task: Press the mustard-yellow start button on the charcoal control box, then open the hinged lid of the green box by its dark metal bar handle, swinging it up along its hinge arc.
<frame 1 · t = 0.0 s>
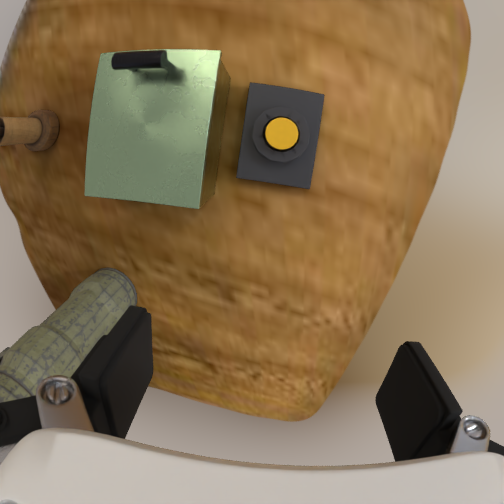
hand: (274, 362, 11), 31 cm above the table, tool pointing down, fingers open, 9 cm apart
control box: (279, 135, 37), on the table
button: (281, 133, 33), point 4 cm above the table, slide at 0.1 cm
mortar and pestle: (45, 130, 38), on the table
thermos: (113, 292, 46), on the table
green box: (171, 131, 37), on the table
lid: (136, 122, 26), point 12 cm above the table, hinge at 0.0°
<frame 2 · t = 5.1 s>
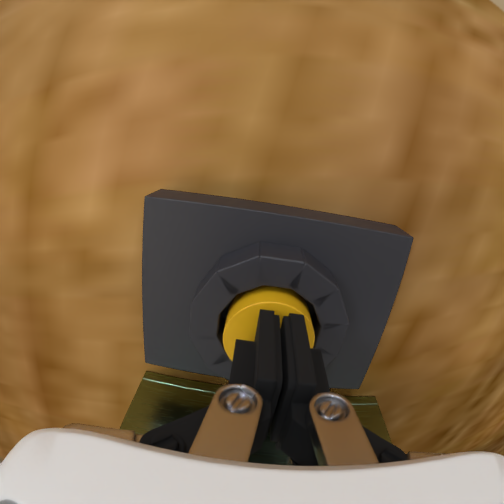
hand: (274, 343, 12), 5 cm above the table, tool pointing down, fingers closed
control box: (267, 290, 16), on the table
button: (268, 330, 13), point 4 cm above the table, slide at -0.6 cm, touching gripper
green box: (250, 447, 21), on the table
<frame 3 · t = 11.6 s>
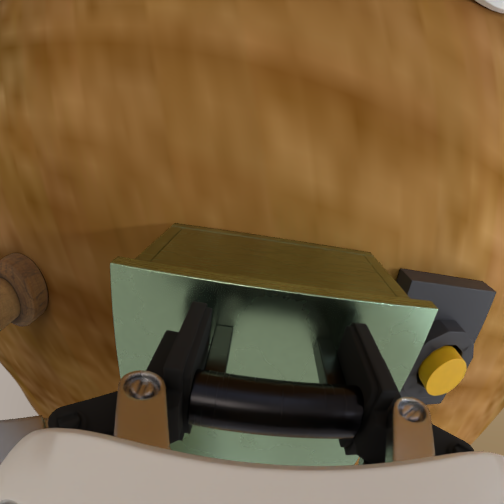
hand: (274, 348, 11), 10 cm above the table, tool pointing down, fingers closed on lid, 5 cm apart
control box: (421, 339, 23), on the table
button: (442, 371, 19), point 4 cm above the table, slide at 0.1 cm
mortar and pestle: (25, 284, 23), on the table
green box: (257, 335, 23), on the table
lid: (251, 459, 12), point 12 cm above the table, hinge at 0.0°, touching gripper
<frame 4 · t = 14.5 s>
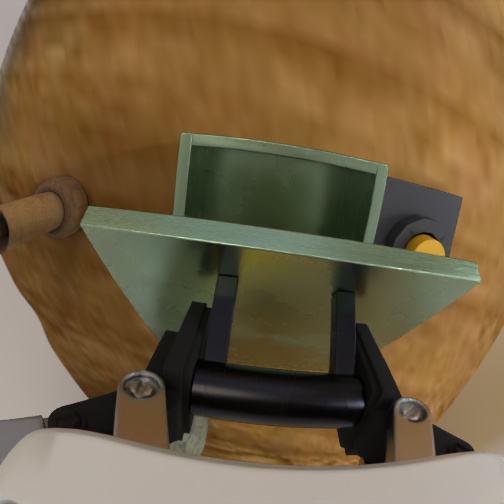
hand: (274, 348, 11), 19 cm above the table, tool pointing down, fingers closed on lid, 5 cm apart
control box: (405, 242, 29), on the table
button: (424, 256, 25), point 4 cm above the table, slide at 0.1 cm
mortar and pestle: (66, 204, 29), on the table
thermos: (178, 404, 37), on the table
green box: (268, 230, 29), on the table
lid: (262, 371, 15), point 16 cm above the table, hinge at 40.4°, touching gripper
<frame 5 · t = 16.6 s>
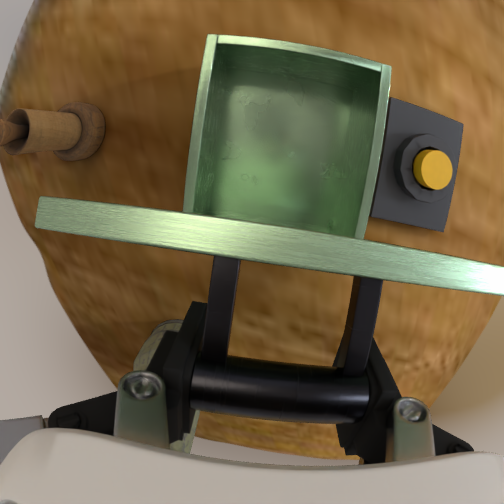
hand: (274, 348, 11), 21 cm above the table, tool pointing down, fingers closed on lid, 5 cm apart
control box: (412, 165, 29), on the table
button: (432, 169, 24), point 4 cm above the table, slide at 0.1 cm
mortar and pestle: (82, 131, 29), on the table
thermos: (183, 347, 37), on the table
green box: (281, 146, 29), on the table
lid: (274, 302, 14), point 18 cm above the table, hinge at 70.5°, touching gripper
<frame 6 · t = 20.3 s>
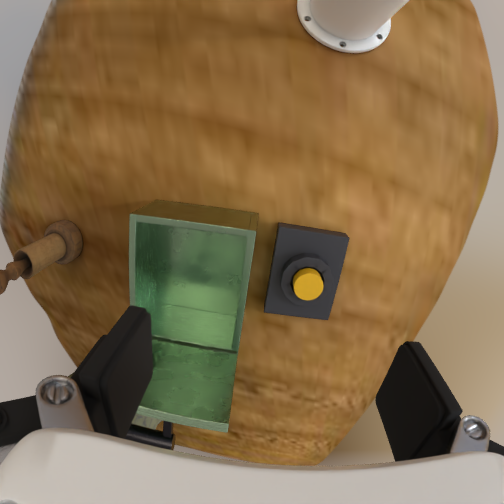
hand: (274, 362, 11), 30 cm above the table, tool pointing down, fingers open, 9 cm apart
control box: (303, 270, 42), on the table
button: (307, 284, 38), point 4 cm above the table, slide at 0.1 cm
mortar and pestle: (67, 239, 42), on the table
green box: (200, 261, 42), on the table
lid: (163, 392, 28), point 18 cm above the table, hinge at 70.6°
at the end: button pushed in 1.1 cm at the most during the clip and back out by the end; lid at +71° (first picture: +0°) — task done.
